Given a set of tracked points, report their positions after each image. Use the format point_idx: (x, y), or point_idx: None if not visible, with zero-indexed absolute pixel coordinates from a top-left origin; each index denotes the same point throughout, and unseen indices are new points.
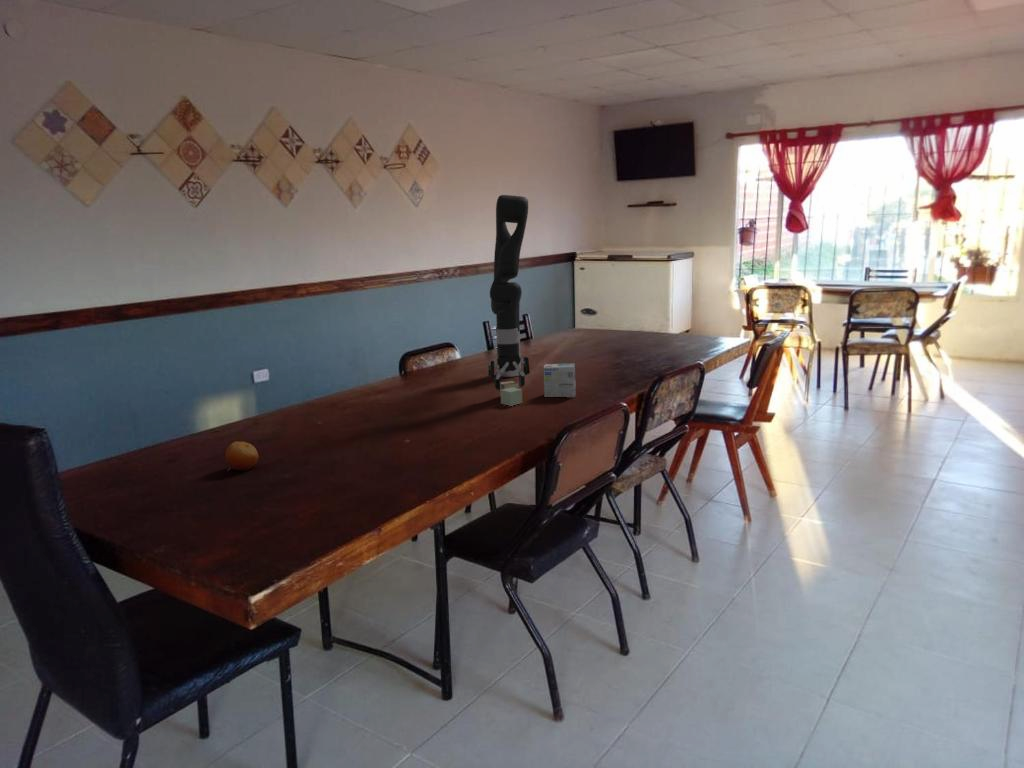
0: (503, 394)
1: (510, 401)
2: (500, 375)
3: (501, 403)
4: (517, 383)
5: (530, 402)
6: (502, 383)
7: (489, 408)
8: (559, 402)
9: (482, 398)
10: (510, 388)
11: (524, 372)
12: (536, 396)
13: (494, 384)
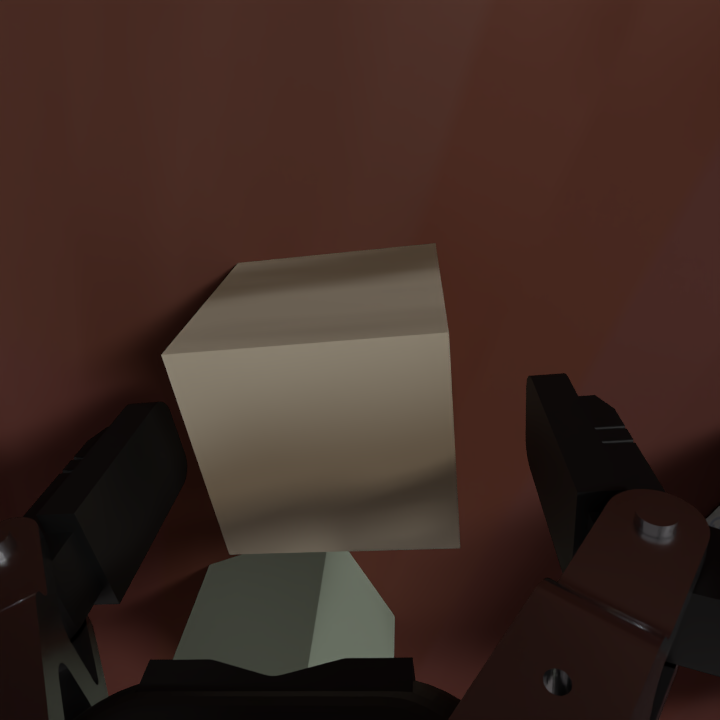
0: None
1: None
2: (96, 684)
3: (210, 577)
4: (457, 529)
5: (481, 604)
6: (213, 430)
7: (105, 624)
8: (706, 684)
9: (6, 270)
10: None
11: (711, 656)
12: (662, 438)
13: (69, 463)
